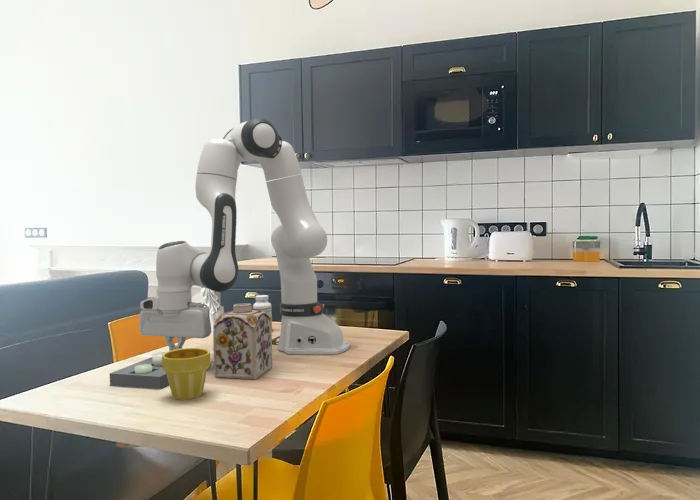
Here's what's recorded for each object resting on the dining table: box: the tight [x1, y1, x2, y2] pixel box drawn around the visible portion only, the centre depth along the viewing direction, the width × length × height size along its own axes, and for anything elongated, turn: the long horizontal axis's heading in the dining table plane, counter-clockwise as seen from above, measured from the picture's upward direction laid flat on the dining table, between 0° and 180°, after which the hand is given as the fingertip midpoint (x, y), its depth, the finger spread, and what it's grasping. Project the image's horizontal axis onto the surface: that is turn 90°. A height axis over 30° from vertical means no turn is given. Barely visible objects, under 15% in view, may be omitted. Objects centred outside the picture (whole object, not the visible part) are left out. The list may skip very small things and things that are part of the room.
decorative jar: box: [212, 303, 273, 381], centre depth 141 cm, size 12×12×18 cm
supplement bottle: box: [252, 294, 273, 331], centre depth 196 cm, size 7×7×13 cm
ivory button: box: [151, 352, 165, 367], centre depth 140 cm, size 4×4×3 cm
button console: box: [109, 356, 169, 390], centre depth 140 cm, size 14×21×3 cm, turn 164°
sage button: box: [135, 364, 152, 375], centre depth 133 cm, size 4×4×3 cm
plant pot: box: [162, 347, 211, 401], centre depth 123 cm, size 10×10×10 cm
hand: (175, 352), depth 146 cm, fingers closed, pressing on terracotta button
